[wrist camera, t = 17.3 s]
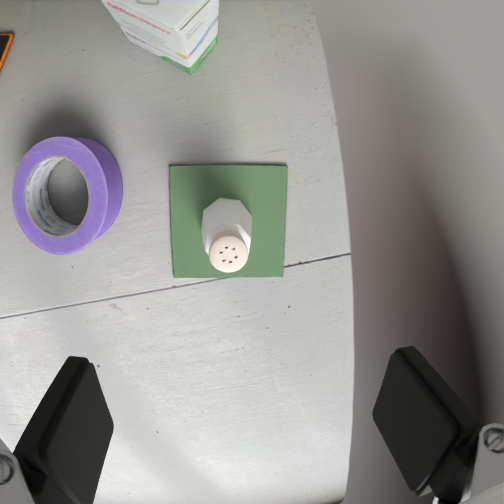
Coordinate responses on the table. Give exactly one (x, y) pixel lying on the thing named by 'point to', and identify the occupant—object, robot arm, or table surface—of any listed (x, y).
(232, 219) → the pepper shaker
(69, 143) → the tape roll
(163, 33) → the ink box
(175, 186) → the mat
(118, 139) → the table surface
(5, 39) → the smartphone
